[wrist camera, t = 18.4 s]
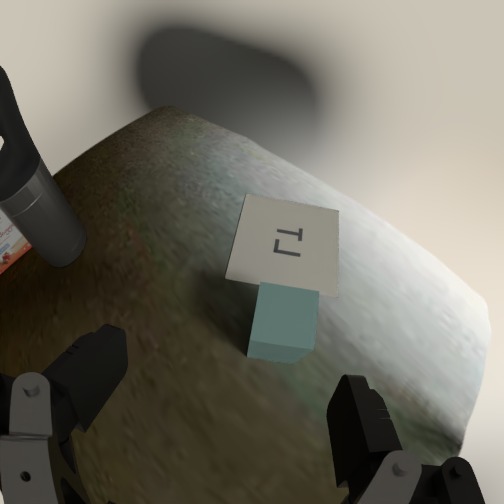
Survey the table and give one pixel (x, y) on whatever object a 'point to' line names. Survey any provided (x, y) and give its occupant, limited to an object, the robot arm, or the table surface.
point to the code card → (286, 245)
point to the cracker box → (10, 243)
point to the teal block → (283, 323)
